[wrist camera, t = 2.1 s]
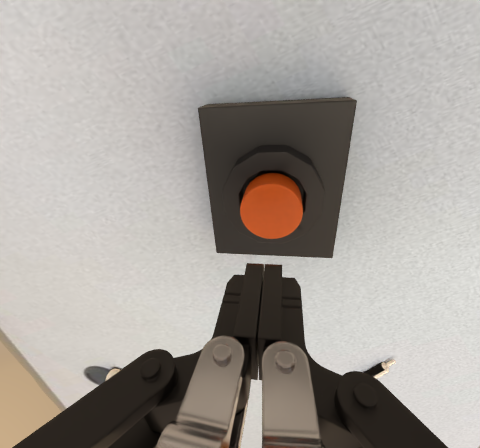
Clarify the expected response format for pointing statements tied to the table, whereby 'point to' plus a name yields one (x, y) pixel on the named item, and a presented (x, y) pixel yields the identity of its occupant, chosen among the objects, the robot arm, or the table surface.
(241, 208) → the button
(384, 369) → the pen
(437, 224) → the table surface
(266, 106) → the housing
